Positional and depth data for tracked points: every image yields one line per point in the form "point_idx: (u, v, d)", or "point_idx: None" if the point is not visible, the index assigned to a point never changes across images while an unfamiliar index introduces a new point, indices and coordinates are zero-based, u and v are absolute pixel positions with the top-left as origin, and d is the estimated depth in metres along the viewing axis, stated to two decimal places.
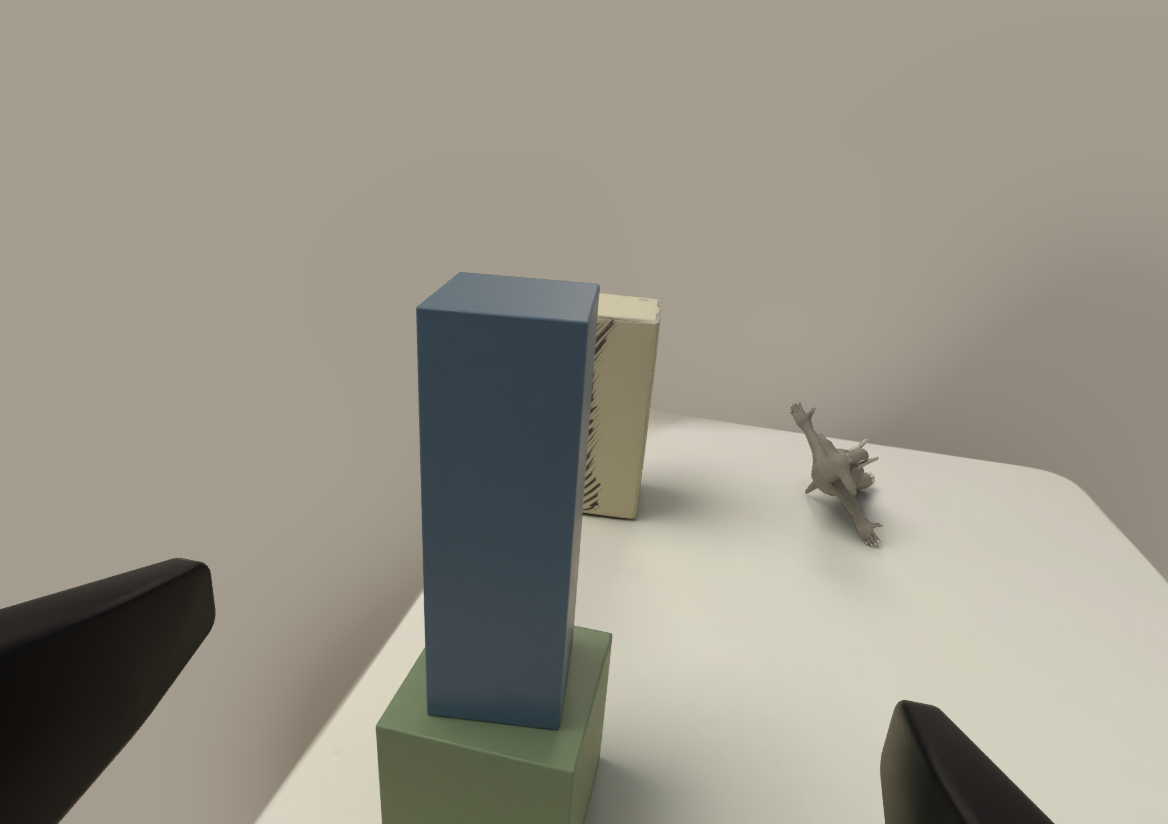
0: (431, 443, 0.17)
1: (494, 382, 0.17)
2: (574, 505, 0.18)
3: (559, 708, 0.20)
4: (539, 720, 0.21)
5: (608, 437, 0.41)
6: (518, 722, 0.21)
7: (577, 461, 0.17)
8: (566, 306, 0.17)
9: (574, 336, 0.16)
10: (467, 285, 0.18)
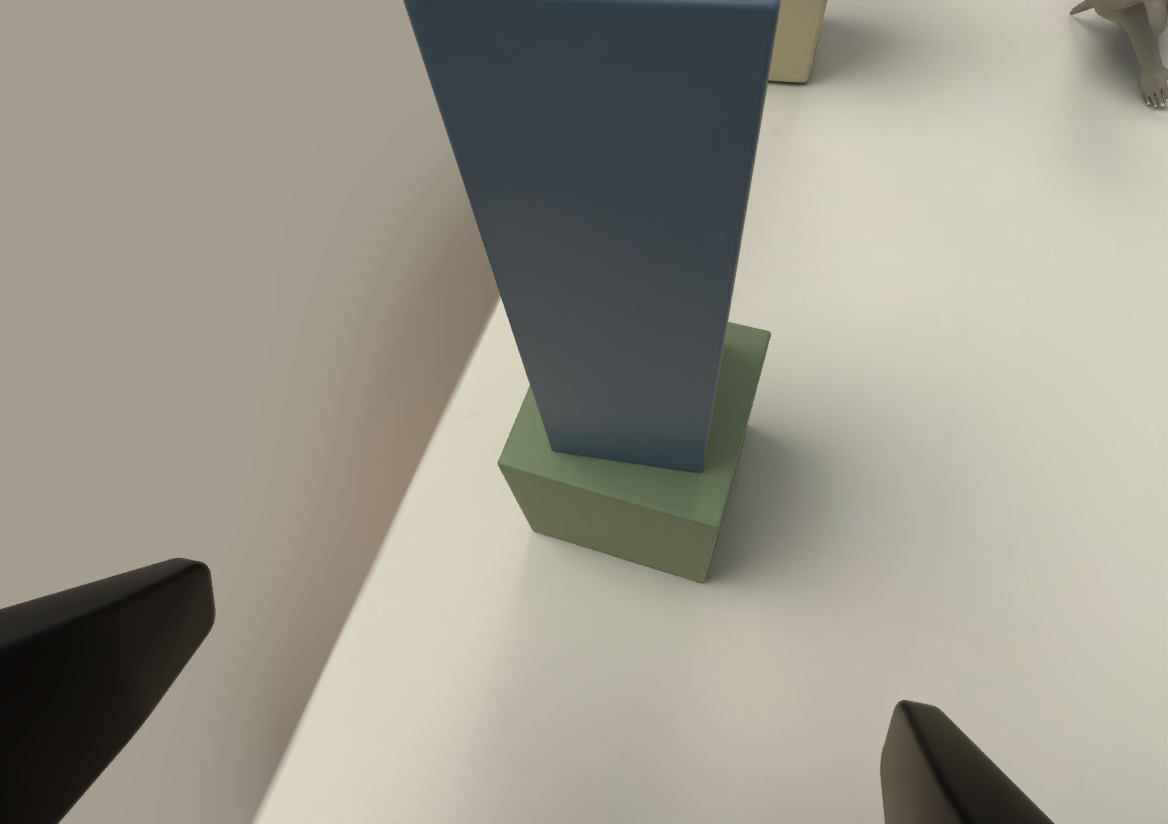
0: (492, 216, 0.11)
1: (583, 129, 0.09)
2: (730, 295, 0.11)
3: (703, 460, 0.17)
4: (679, 465, 0.18)
5: None
6: (654, 465, 0.18)
7: (738, 243, 0.10)
8: None
9: (745, 39, 0.07)
10: None
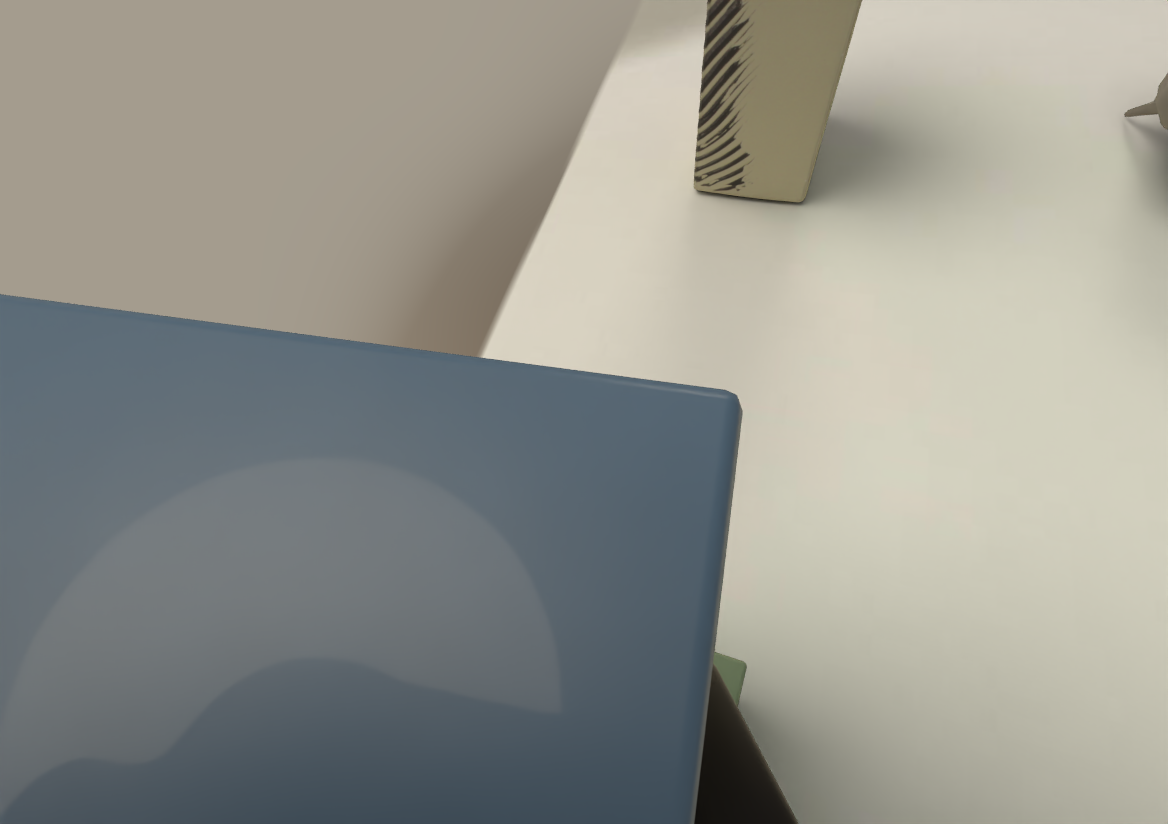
0: None
1: None
2: None
3: None
4: None
5: (768, 77, 0.22)
6: None
7: None
8: None
9: None
10: None
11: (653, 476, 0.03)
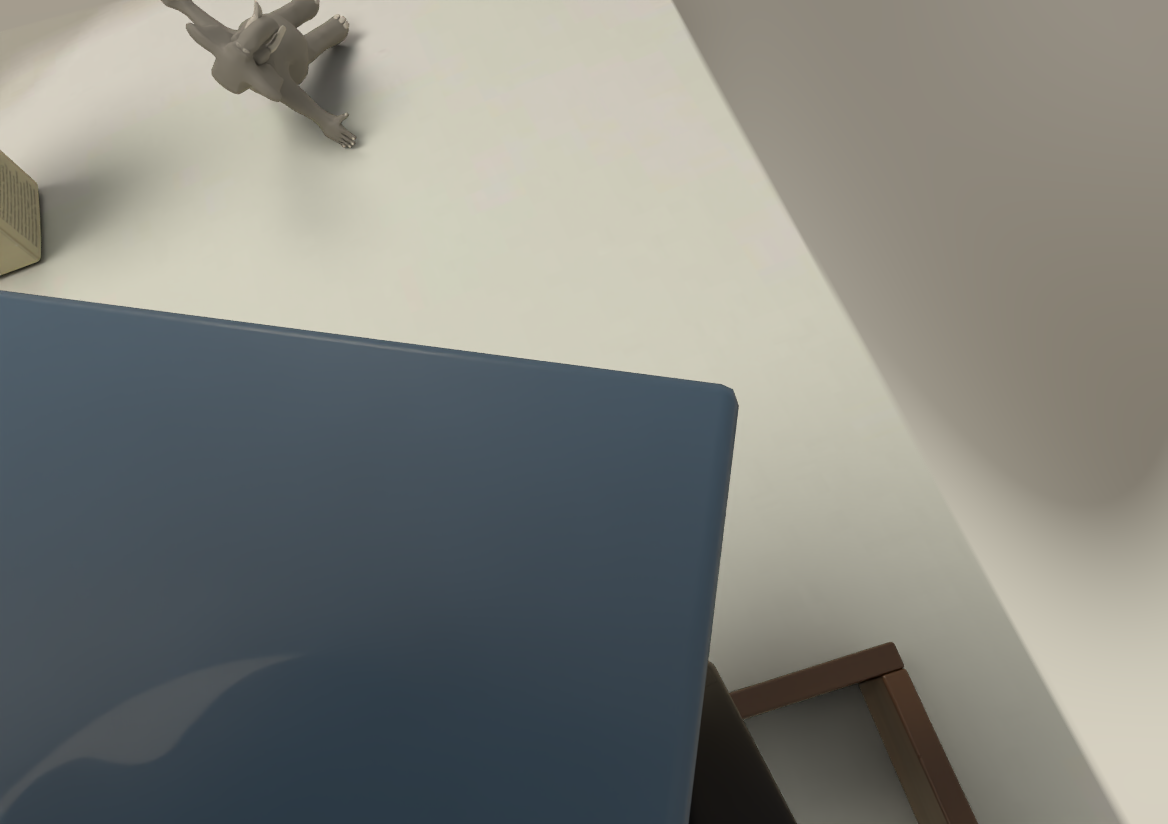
0: None
1: None
2: None
3: None
4: None
5: None
6: None
7: None
8: None
9: None
10: None
11: (650, 470, 0.03)
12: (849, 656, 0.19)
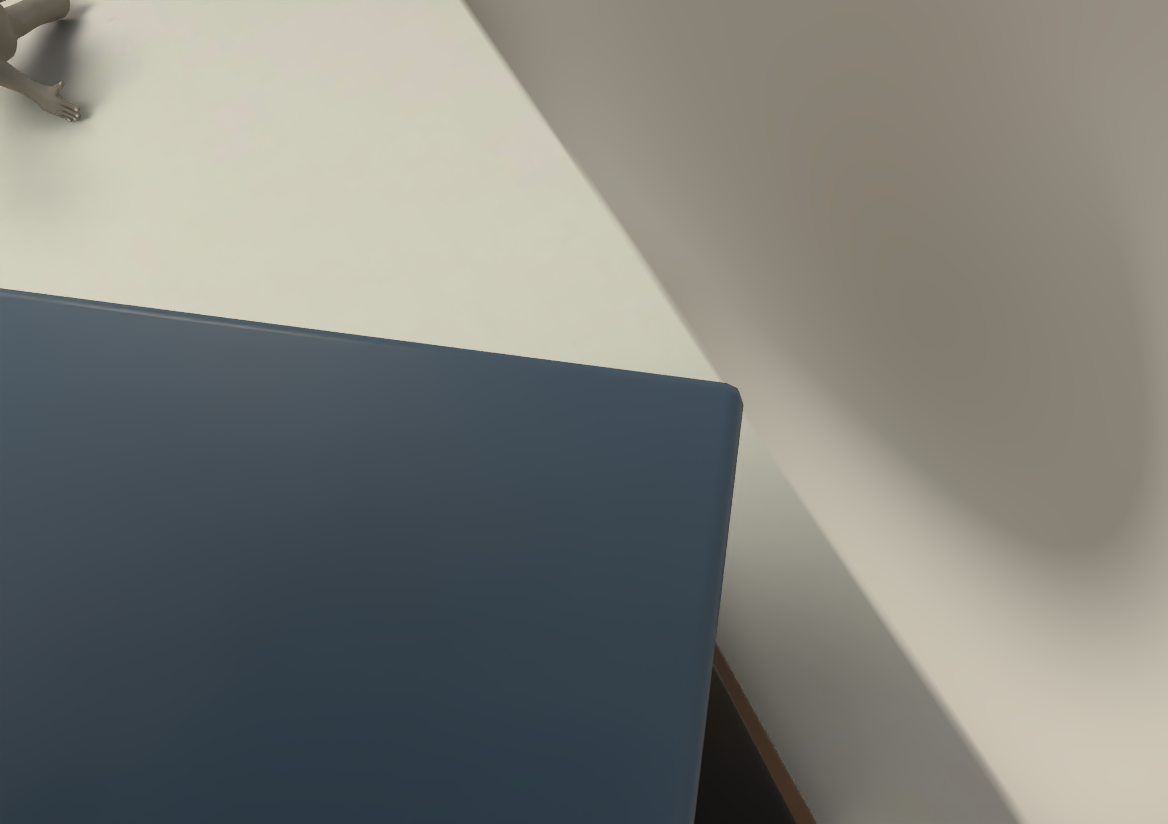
0: None
1: None
2: None
3: None
4: None
5: None
6: None
7: None
8: None
9: None
10: None
11: (654, 469, 0.03)
12: None
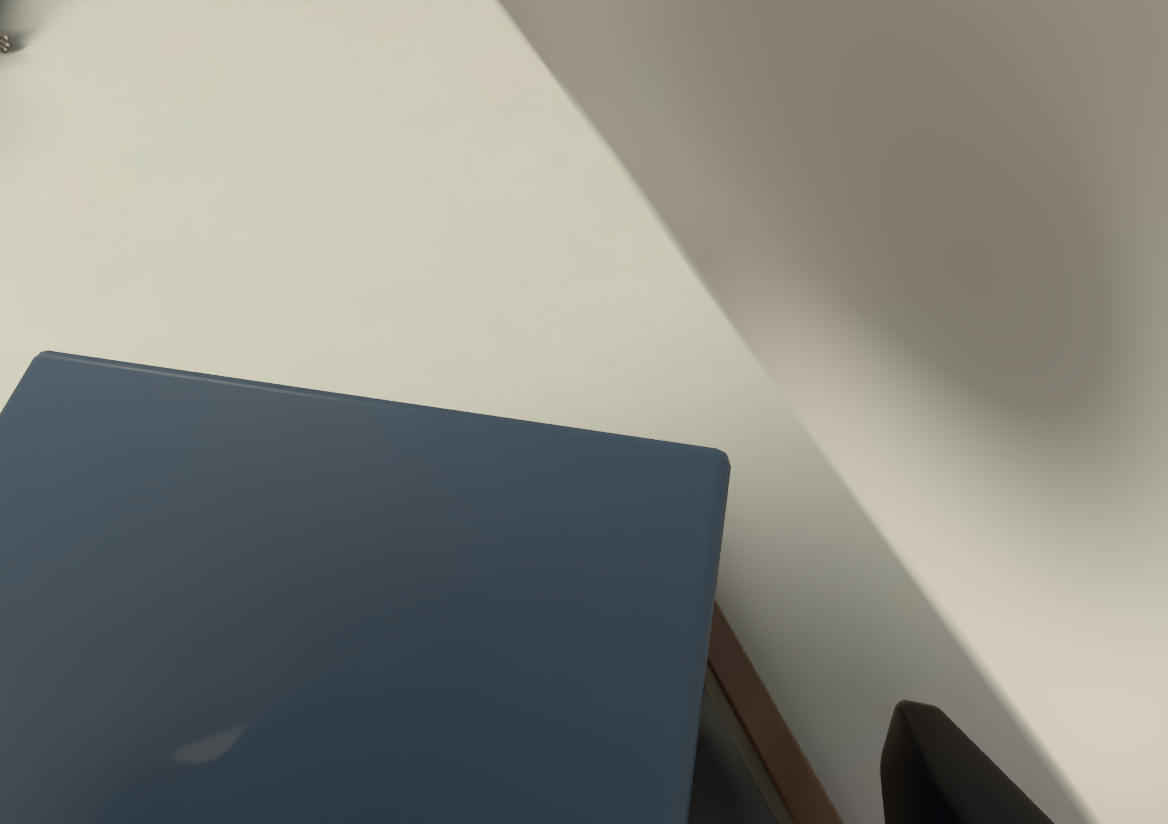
0: None
1: None
2: None
3: None
4: None
5: None
6: None
7: None
8: None
9: None
10: None
11: (655, 524, 0.03)
12: None
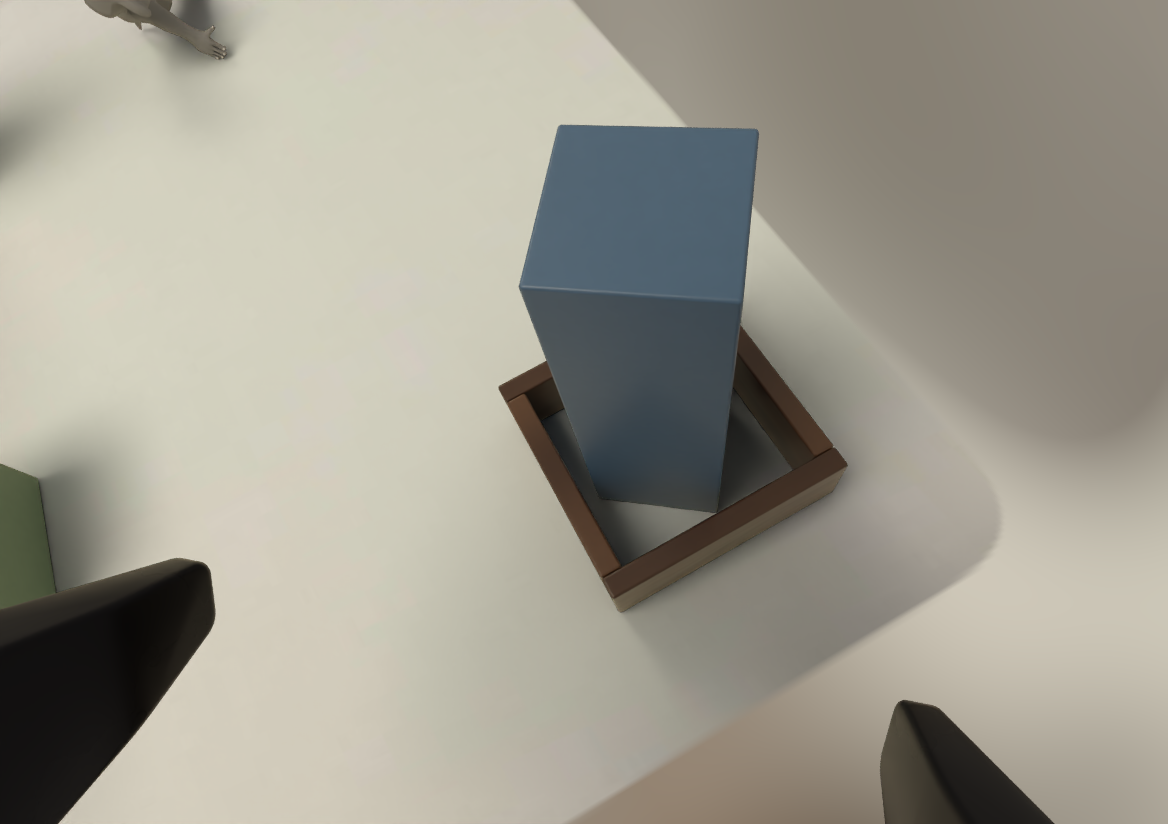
0: (564, 376, 0.16)
1: (627, 343, 0.14)
2: (727, 417, 0.16)
3: (716, 504, 0.22)
4: (698, 508, 0.23)
5: None
6: (679, 507, 0.23)
7: (730, 393, 0.15)
8: (711, 243, 0.13)
9: (724, 313, 0.12)
10: (574, 185, 0.14)
11: (741, 144, 0.13)
12: None
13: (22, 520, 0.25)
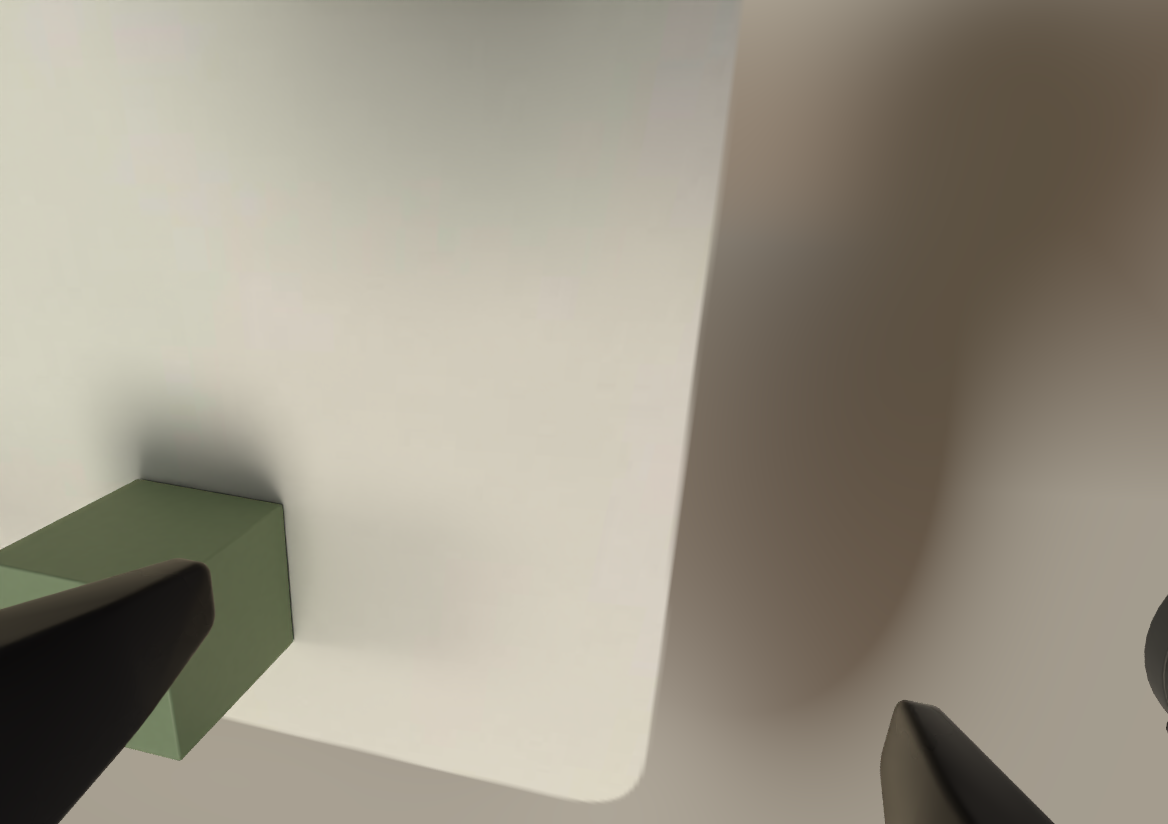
0: None
1: None
2: None
3: None
4: None
5: None
6: None
7: None
8: None
9: None
10: None
11: None
12: None
13: (171, 500, 0.25)
